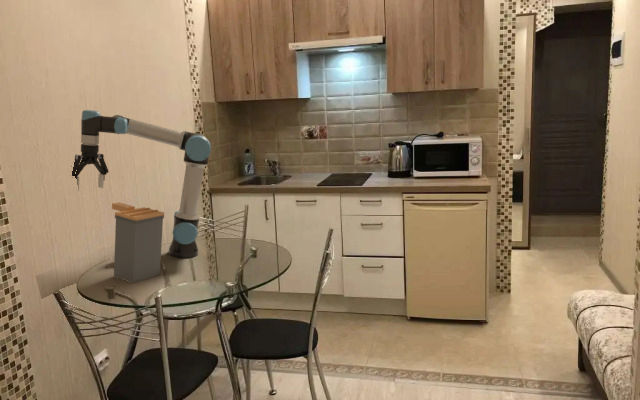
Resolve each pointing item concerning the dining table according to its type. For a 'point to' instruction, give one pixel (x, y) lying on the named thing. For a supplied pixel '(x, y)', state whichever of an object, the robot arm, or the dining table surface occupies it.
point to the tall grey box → (137, 248)
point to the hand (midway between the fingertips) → (88, 189)
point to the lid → (135, 212)
